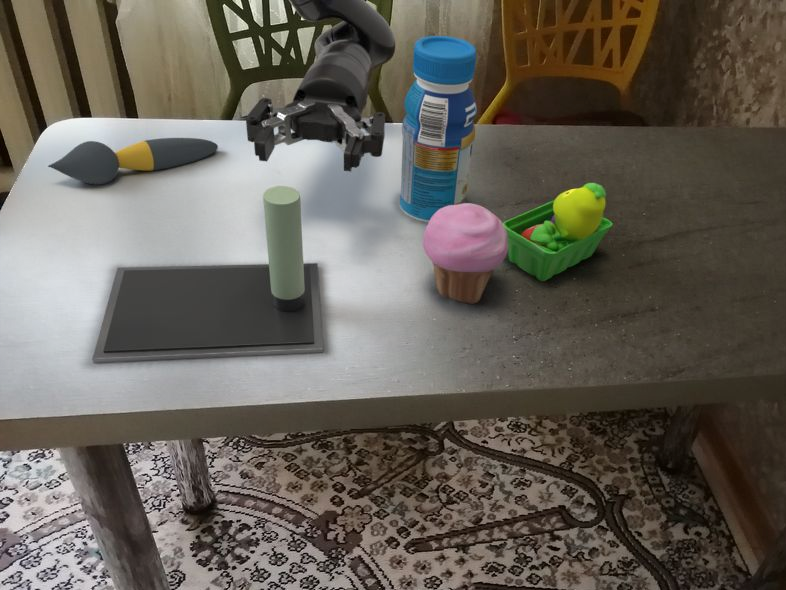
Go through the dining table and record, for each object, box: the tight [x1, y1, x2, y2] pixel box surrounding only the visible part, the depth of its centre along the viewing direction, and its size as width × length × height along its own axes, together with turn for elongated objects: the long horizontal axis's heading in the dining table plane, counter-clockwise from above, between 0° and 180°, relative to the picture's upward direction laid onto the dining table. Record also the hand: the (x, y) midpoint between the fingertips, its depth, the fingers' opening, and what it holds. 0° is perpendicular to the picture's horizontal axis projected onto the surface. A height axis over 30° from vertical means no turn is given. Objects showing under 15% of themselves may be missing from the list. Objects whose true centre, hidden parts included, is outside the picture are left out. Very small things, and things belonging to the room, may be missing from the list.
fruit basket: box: [502, 182, 613, 282], centre depth 83 cm, size 11×9×11 cm
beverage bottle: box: [399, 35, 478, 223], centre depth 86 cm, size 8×8×20 cm
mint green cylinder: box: [262, 185, 305, 312], centre depth 70 cm, size 3×3×12 cm
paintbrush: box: [47, 137, 219, 186], centre depth 91 cm, size 20×5×5 cm, turn 134°
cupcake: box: [422, 202, 508, 305], centre depth 77 cm, size 9×9×10 cm
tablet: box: [91, 262, 324, 364], centre depth 73 cm, size 20×14×1 cm
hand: (304, 158), depth 75 cm, fingers open, 8 cm apart
